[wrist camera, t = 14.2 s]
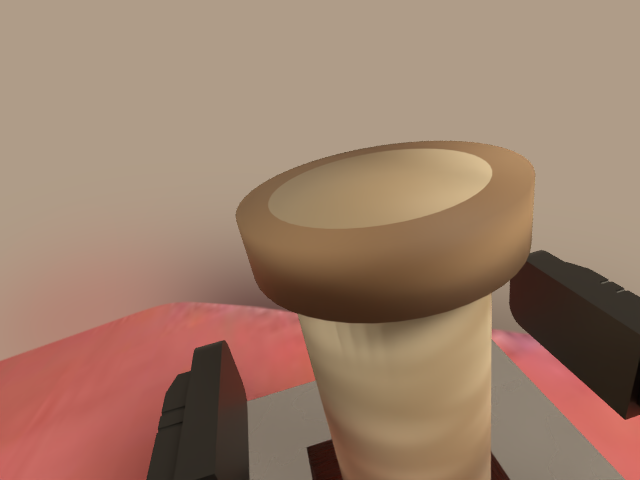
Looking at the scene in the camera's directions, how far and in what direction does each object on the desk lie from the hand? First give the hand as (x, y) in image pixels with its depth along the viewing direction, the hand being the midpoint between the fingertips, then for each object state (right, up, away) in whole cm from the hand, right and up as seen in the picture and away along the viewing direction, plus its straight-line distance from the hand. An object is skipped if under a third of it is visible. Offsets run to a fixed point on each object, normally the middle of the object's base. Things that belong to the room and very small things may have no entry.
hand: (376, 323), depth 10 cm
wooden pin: (+2, -9, +3) cm, 10 cm away
